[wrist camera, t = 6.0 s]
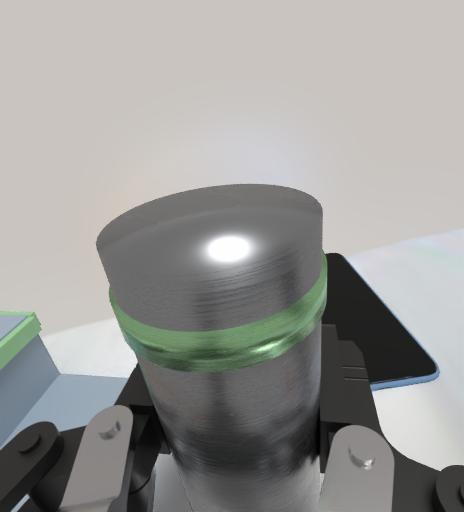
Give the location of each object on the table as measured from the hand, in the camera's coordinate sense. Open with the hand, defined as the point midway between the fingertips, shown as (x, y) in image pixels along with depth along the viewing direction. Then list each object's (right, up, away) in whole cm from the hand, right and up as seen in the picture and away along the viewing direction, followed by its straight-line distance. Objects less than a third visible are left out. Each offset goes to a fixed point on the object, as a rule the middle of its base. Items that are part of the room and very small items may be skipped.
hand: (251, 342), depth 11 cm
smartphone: (+7, -1, +12) cm, 14 cm away
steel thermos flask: (0, -7, +1) cm, 8 cm away
